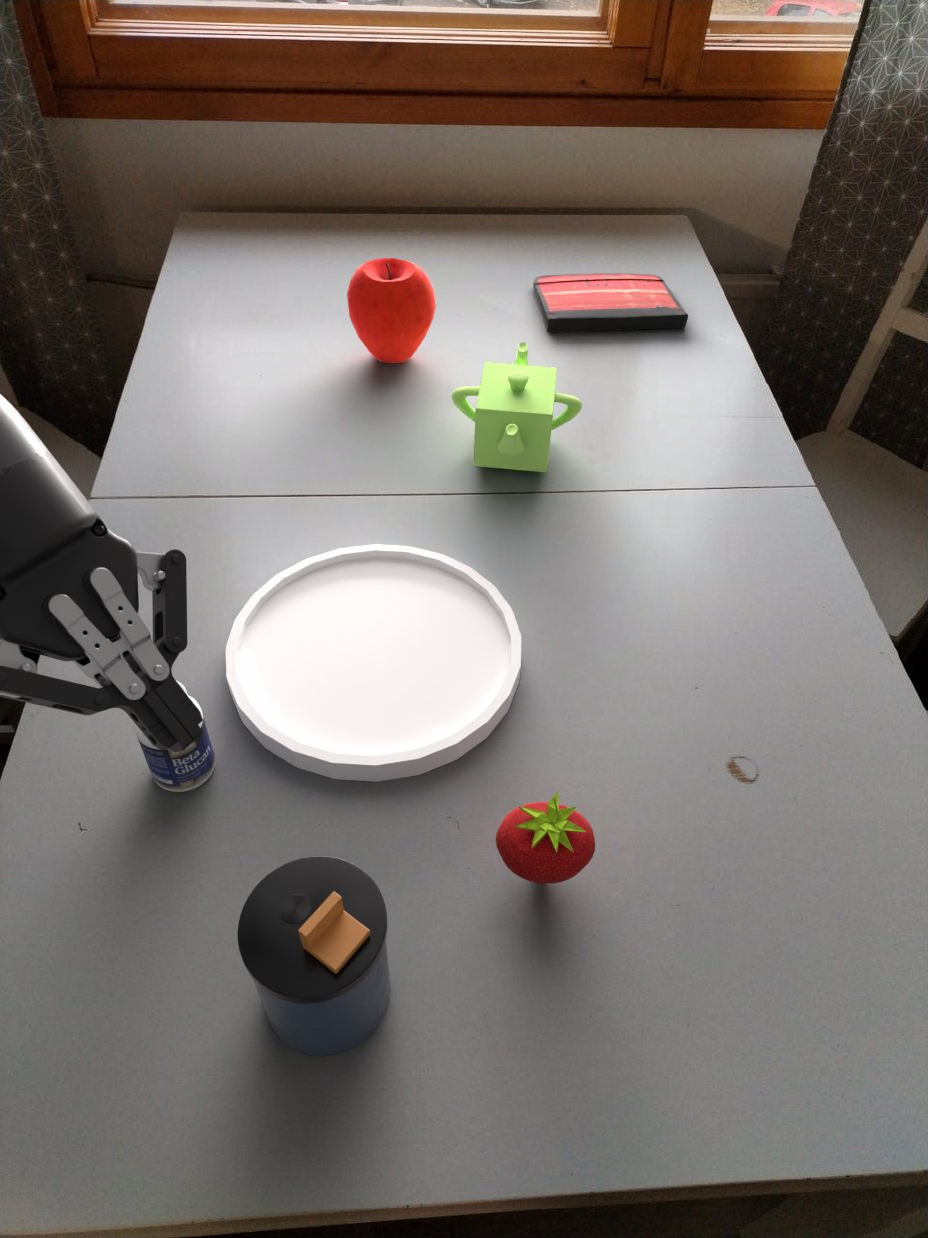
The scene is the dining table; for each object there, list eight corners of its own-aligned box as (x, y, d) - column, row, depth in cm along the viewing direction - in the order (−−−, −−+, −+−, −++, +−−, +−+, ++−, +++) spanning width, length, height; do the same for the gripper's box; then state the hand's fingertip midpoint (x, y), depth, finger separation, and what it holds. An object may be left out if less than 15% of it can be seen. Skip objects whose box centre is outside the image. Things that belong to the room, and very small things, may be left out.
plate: (168, 667, 85) (162, 650, 83) (375, 526, 100) (374, 508, 98) (377, 842, 73) (375, 826, 71) (578, 651, 88) (581, 634, 86)
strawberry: (492, 840, 73) (499, 771, 66) (584, 844, 73) (601, 775, 66) (491, 908, 69) (498, 842, 62) (589, 912, 69) (606, 847, 62)
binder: (689, 313, 131) (548, 318, 129) (686, 328, 132) (546, 333, 131) (660, 269, 142) (530, 272, 140) (658, 283, 144) (529, 287, 142)
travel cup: (234, 1002, 64) (205, 936, 56) (324, 904, 69) (309, 830, 61) (331, 1089, 60) (315, 1030, 52) (419, 977, 65) (416, 909, 57)
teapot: (518, 406, 117) (524, 331, 110) (593, 452, 111) (606, 376, 103) (430, 450, 110) (430, 374, 102) (506, 503, 103) (512, 425, 96)
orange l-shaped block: (302, 947, 55) (297, 930, 54) (336, 908, 57) (333, 890, 55) (336, 975, 54) (332, 958, 52) (370, 934, 56) (368, 917, 54)
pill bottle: (187, 804, 75) (161, 735, 68) (139, 777, 77) (109, 706, 69) (229, 758, 78) (209, 688, 71) (183, 733, 80) (158, 661, 73)
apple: (431, 332, 130) (430, 241, 120) (440, 375, 122) (440, 281, 112) (349, 336, 129) (342, 244, 119) (353, 380, 121) (346, 285, 111)
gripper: (-138, 534, 40) (111, 825, 44) (106, 405, 47) (300, 664, 51) (-145, 571, 46) (75, 824, 50) (73, 451, 53) (248, 680, 57)
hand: (189, 742), depth 50 cm, fingers closed
